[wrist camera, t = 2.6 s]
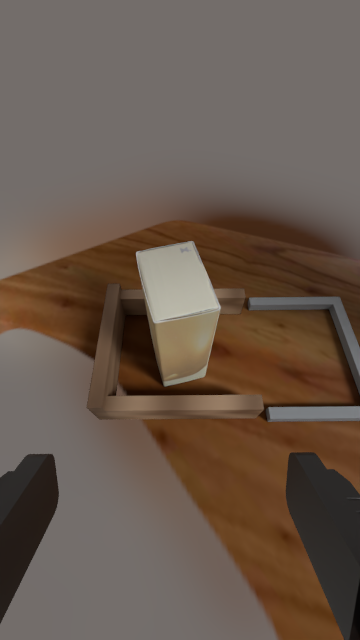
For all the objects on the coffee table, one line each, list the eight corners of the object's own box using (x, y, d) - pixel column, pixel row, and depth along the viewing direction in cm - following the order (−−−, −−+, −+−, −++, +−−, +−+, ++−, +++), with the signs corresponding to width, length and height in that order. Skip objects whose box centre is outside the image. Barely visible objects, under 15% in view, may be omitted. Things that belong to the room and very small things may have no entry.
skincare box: (150, 334, 30) (132, 247, 19) (189, 324, 30) (192, 236, 20) (163, 391, 26) (151, 323, 16) (207, 379, 27) (223, 307, 16)
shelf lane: (239, 305, 31) (245, 282, 28) (255, 418, 25) (267, 406, 21) (115, 306, 31) (107, 283, 28) (99, 419, 25) (86, 407, 21)
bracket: (335, 302, 31) (339, 296, 31) (380, 420, 25) (387, 417, 24) (247, 302, 32) (249, 297, 31) (267, 421, 25) (270, 419, 24)
